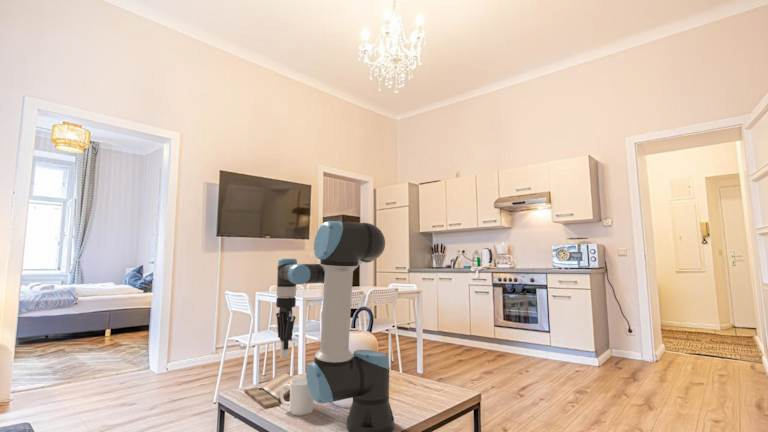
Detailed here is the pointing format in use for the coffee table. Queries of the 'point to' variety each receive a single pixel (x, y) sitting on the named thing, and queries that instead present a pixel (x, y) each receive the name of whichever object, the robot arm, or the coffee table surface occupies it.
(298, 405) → the cup
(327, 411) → the coffee table surface
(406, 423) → the coffee table surface
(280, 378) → the plank
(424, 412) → the coffee table surface
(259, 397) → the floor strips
